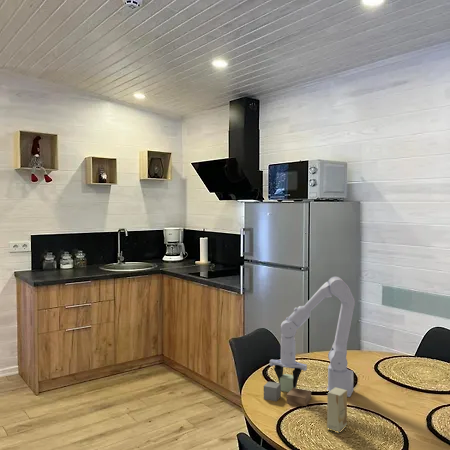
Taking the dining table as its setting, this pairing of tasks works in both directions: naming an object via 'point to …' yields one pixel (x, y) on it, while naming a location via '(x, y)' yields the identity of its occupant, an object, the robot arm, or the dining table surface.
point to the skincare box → (337, 409)
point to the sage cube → (286, 382)
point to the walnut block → (298, 397)
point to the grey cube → (272, 391)
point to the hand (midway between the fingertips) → (288, 385)
